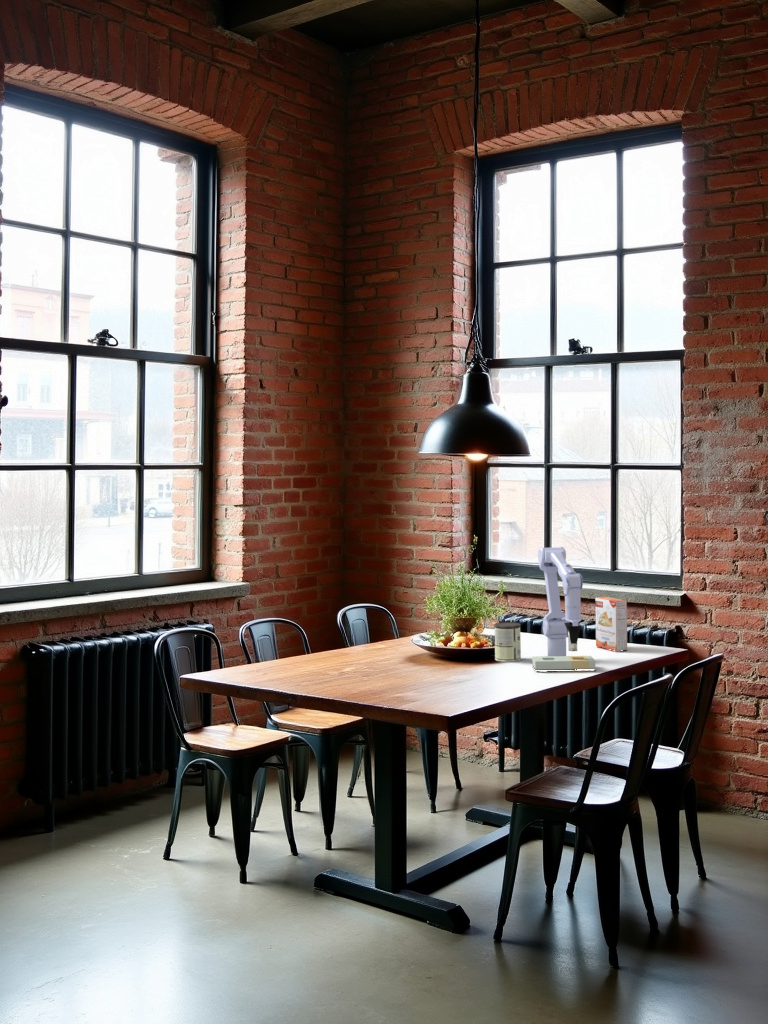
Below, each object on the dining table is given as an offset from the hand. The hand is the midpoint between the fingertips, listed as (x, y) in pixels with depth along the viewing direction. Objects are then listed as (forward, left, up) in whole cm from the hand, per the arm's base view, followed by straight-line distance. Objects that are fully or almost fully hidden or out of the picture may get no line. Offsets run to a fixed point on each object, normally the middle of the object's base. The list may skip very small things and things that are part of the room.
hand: (573, 642), depth 404 cm
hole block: (0, -4, -10) cm, 11 cm away
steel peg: (0, 0, -3) cm, 3 cm away
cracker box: (-41, +21, -10) cm, 47 cm away
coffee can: (-21, -23, -10) cm, 32 cm away
